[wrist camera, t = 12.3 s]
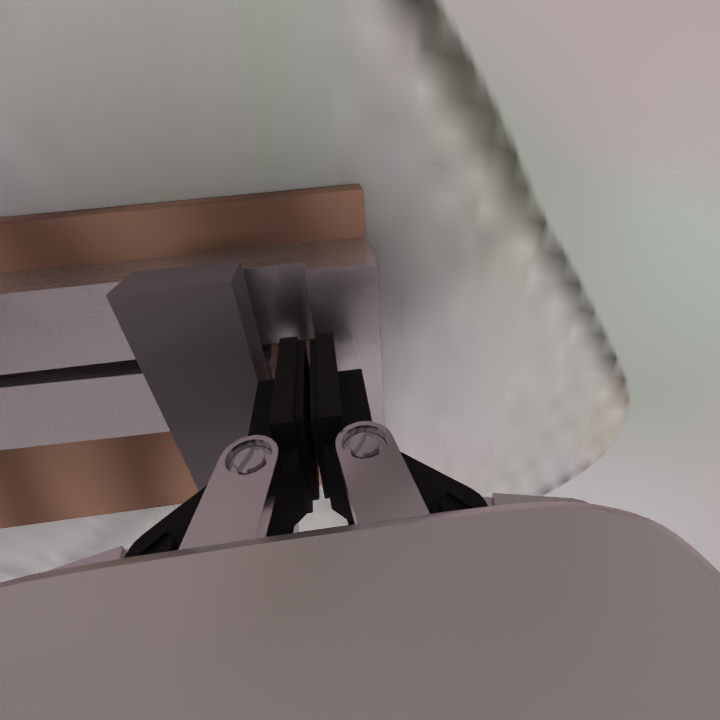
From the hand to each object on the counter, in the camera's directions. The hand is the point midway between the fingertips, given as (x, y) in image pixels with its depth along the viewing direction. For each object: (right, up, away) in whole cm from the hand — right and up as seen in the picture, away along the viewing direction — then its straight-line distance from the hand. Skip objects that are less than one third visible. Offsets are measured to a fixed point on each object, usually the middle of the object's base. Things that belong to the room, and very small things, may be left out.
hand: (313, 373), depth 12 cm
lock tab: (-3, 0, 0) cm, 3 cm away
